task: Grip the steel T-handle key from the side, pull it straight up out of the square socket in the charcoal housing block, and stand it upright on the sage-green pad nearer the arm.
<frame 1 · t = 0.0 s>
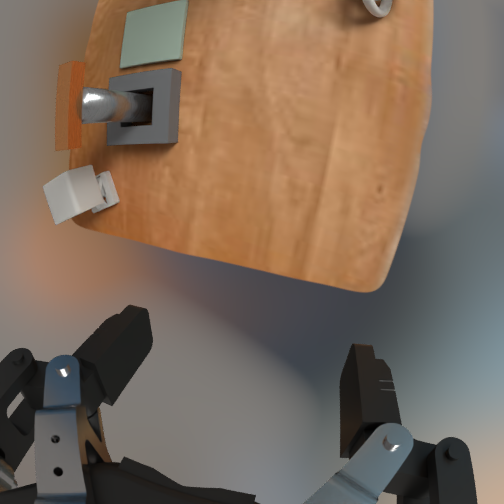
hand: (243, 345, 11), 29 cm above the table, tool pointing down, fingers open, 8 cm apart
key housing: (147, 108, 36), on the table
t key: (112, 106, 28), in the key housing
security camera: (102, 186, 42), on the table
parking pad: (153, 34, 31), on the table
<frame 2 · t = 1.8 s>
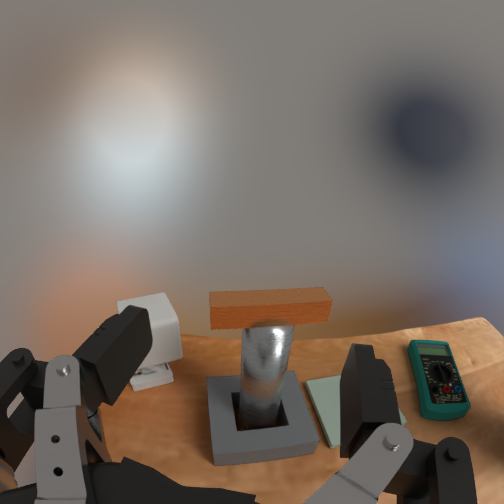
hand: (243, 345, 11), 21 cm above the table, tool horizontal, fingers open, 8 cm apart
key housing: (257, 423, 28), on the table
t key: (262, 375, 25), in the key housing
security camera: (154, 372, 34), on the table
digital multimeter: (433, 383, 33), on the table
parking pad: (354, 406, 30), on the table
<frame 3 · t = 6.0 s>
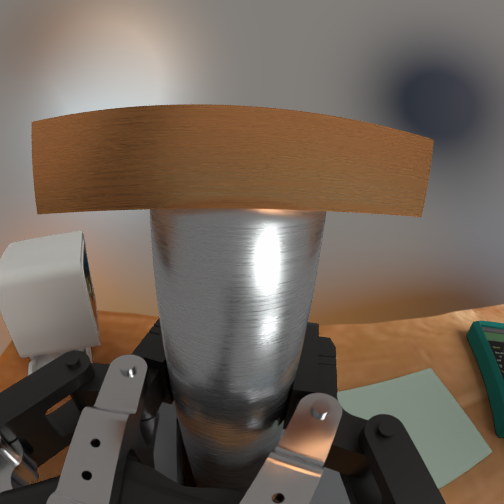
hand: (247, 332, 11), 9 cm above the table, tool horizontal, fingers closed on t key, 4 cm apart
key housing: (230, 477, 13), on the table
t key: (231, 390, 9), in the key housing, touching gripper
security camera: (71, 367, 19), on the table
digital multimeter: (503, 384, 17), on the table
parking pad: (409, 435, 15), on the table
when the fingers open (11 cm above the table, at t = 11.3 s): t key stays where it is, resting on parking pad.
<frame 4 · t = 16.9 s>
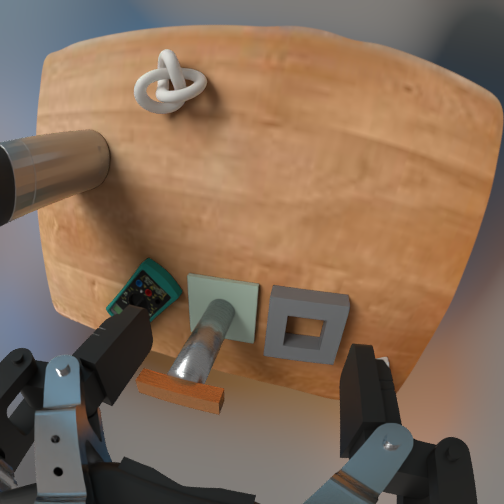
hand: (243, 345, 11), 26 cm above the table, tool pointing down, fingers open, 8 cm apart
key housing: (305, 320, 40), on the table
t key: (202, 347, 34), on the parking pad, point 9 cm above the table
digital multimeter: (145, 296, 45), on the table
knot: (177, 89, 32), on the table
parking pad: (222, 308, 42), on the table
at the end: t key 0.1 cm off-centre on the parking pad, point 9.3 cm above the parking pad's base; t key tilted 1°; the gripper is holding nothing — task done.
